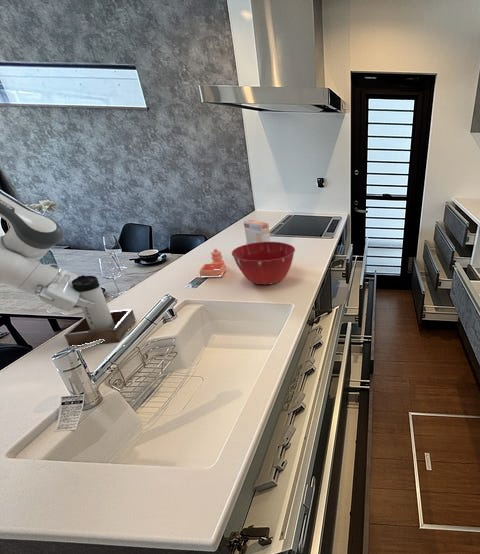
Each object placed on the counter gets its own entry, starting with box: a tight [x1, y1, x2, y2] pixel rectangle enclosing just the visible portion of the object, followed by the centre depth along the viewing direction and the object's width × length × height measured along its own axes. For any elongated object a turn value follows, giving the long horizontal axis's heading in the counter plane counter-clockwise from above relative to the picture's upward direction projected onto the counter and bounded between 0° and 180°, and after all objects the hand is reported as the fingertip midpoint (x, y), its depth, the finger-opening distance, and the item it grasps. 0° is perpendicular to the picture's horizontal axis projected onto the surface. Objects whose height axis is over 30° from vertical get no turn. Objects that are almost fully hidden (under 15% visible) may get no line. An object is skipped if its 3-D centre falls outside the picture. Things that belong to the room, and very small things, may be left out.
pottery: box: [199, 248, 226, 278], centre depth 155 cm, size 18×10×10 cm, turn 11°
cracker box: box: [243, 219, 271, 244], centre depth 173 cm, size 14×6×21 cm, turn 59°
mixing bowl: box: [231, 241, 296, 285], centre depth 146 cm, size 28×28×16 cm
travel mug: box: [71, 274, 115, 331], centre depth 101 cm, size 6×7×20 cm
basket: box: [64, 308, 137, 348], centre depth 104 cm, size 14×14×5 cm
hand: (94, 301), depth 100 cm, fingers closed on travel mug, 6 cm apart
